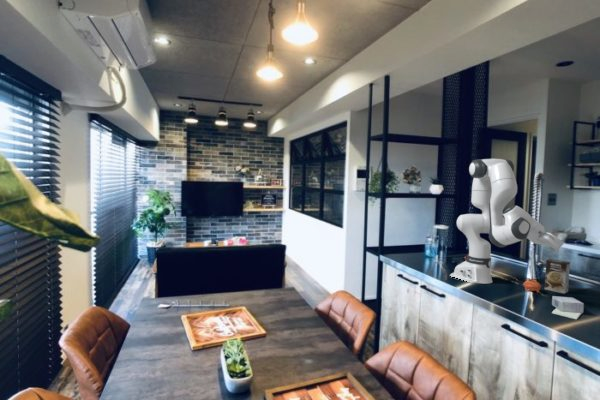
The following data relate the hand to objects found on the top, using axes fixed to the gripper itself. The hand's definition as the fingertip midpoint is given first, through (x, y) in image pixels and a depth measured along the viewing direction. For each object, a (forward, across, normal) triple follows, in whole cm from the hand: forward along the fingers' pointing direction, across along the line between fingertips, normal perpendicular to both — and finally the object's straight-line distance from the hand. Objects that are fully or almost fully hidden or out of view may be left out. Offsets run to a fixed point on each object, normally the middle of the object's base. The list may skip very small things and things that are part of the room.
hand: (556, 250), depth 161 cm
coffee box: (+24, +18, +11) cm, 32 cm away
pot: (+14, +14, +20) cm, 28 cm away
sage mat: (+13, -16, +22) cm, 30 cm away
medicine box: (+10, -12, +22) cm, 27 cm away
